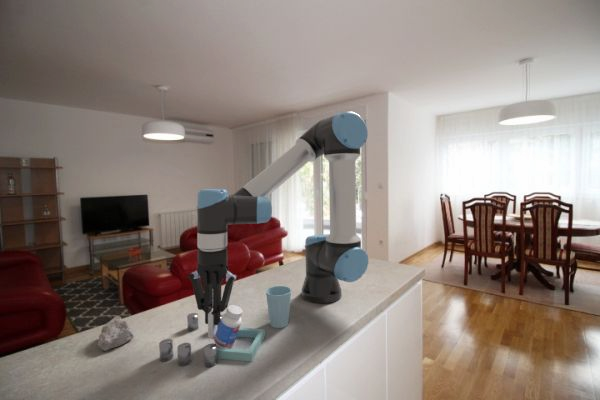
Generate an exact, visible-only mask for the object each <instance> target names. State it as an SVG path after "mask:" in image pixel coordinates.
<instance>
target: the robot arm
mask: <svg viewBox="0 0 600 400" xmlns="http://www.w3.org/2000/svg"><path fill="white" fill-rule="evenodd" d="M368 135H369V134H368V127H367V124H366V122H365V120H364V119H362V117H361V115H359V114H358V113H356V112H354V111H348V110H347V111H344V112H338V113H336V114H335V115H332V116H330V117H327V118H324V119H322V120H319V121H317V122H316V123H314V124H313V125H312V126H311V127H310V128H309V129H308V130H307V131H305V132H304V133H303V134H302V135H301V136H300V137H298V138H297V139H296V140H295V144H294V145H293V146H292V147H290V148H289V149H288V150H287V151H285V152H284V153H283V154H282V155H280V156H279V157H278V158H277V159H276V160H274V161H273V162H272V163H270V164H269V165H268V166H267V167H266V168H264V169H263V170H262V171H260V172H259V173H258V174H257V175H256V176H255V177H253V178H251V180H250V181H248V182H247V183H245V184H244V185H243V186H242V187H241V188H239V189H238V190H237V191H236V192H234V193H233V194H230V195H228V190H227V189H221V188H220V189H219V188H218V189H217V188H216V189H215V188H213V189H212V188H206V189H205V188H204V189H200V190H199V191H198V193H197V206H196V209H197V210H196V214H197V215H196V216H197V218H196V219H197V222H196V223H197V233H196V235H197V237H196V238H197V239H196V240H197V242H196V243H197V244H196V246H197V248H198V250H197V267H196V270H195V271H192V272H191V273H189V274H188V275H187V276H188V279H189V280H190V282H191V284H192V289H193V295H194V298H195V302H196V306H197V309H198V310H199V311H203V312H204V323H205V325H207V338H208V339H214V337H215V334H216V331H217V325H218V324H219V323H220V315H221V313H222V312H224V311H225V310H227V309H228V307H229V302H230V298H231V294H232V290H233V286H234V283H235V281H236V280H237V278H238V275H237V274H236V273H234V274H233V273H232V272H231V271H230V268H229V267H228V248H227V246H228V229H229V228H228V225H231V226H233V225H246V224H248V225H250V224H257V225H258V224H262V223H263V224H264V223H268V222H269V221H270V220H271V217H272V215H273V214H272V212H273V207H272V202H271V200H270V199H269V198H268V196H270V195H271V194H272V193H273V192H275V191H276V190H277V189H278V188H279V187H280V186H282V184H284V183H285V182H286V181H287V180H289V179H290V178H291V177H292V176H293V175H295V174H296V173H297V172H298V171H300V169H302V168H303V167H304V166H305V165H306V164H308V163H309V162H312V163H313V162H314V161H316V160H317V159H318V158H319V157H321V156H324V158H325V160H327V161H328V178H329V179H328V181H329V182H328V183H329V184H328V185H329V187H328V190H329V195H328V196H329V234H328V233H327V234H317V235H316V234H313V235H310V236H309V235H308V236H307V237H306V238H305V245H304V249H305V277H304V280H303V282H302V287H301V297H302V298H303V299H304V300H305V301H308V302H311V303H315V304H330V303H334V302H337V301H339V300H340V299H341V298H342V295H343V293H342V287H341V284H340V281H343V282H345V283H354V282H357V281H358V280H360V279H361V278H362V277H363V275H364V274H365V273H366V271H367V269H368V266H369V256H368V253H367V252H366V251H365V249H363V248H362V240H361V237H360V236H359V235H358V234H357V206H356V205H357V199H356V198H357V197H356V196H357V195H356V194H357V192H356V191H357V190H356V188H357V185H356V183H357V182H356V177H357V176H356V173H357V172H356V171H357V169H356V161H357V160H358V159H359V157H360V156H361V148H362V147H363V146H364V145H365V143H366V142H367V140H368ZM224 279H225V285H224V289H223V294H222V286H223V285H222V284H223V281H224Z"/></svg>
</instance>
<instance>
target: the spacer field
mask: <svg viewBox="0 0 600 400" xmlns="http://www.w3.org/2000/svg"><path fill="white" fill-rule="evenodd" d="M222 315H223V314H220V320H221V317H222ZM186 318H187V323H186V324H187V331H189V332H194V331H197V330H198V329H199V313H197V312H192V313H189V314H188V315H187V316H186ZM218 326H219V324H218V325H217V329H218ZM173 341H174V340H173V339H172V338H166V339H162V340H161V341H160V342H159V343H158V345H159V361H160V362H168V361H170V360H172V359H173V358H174V342H173ZM217 348H218V346H217V345H216V344H215V343H207V344H206V345H204V347H203V363H204V367H206V368H212V367H215V366H216V365H217V364H218V358H217ZM176 352H177V364H178V366H179V367H185V366H189V364H191V362H192V345H191V343H190V342H183V343H180V344H179V345H178V346H177V351H176Z"/></svg>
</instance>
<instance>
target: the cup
mask: <svg viewBox="0 0 600 400" xmlns="http://www.w3.org/2000/svg"><path fill="white" fill-rule="evenodd" d="M265 295H266V303H267V304H266V305H267V310H268V318H269V323H270V327H272V328H275V329H283V328H285V327H287V326H288V325H289V318H290V309H291V308H290V307H291V299H292V298H291V297H292V289H291V288H290V287H289V286H285V285H275V286H271V287H269V288H267V289H266V290H265Z"/></svg>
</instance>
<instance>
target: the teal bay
mask: <svg viewBox="0 0 600 400" xmlns="http://www.w3.org/2000/svg"><path fill="white" fill-rule="evenodd" d="M238 337H239V338H248V339H249V338H251V339H254V340H253V342H252V344H251V345H250V347H249V349H240V348H239V349H238V348H220V347H217V360H219V359H221V360H230V361H231V360H232V361H241V362H242V361H243V362H253V360H254V358H255V356H256V354H257V352H258V351H259V348H260V347H261V345H262V342H263V341H264V339H265V337H266V329H265V328H251V327H240V328H239V330H238V333H237V336H236V338H238Z"/></svg>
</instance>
